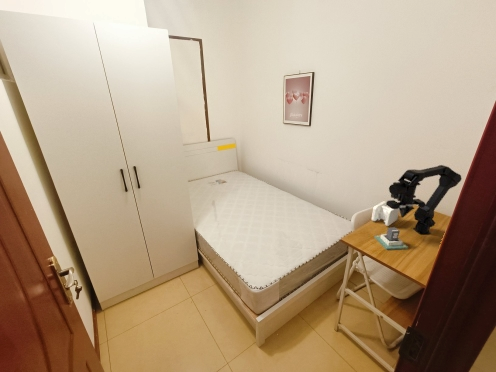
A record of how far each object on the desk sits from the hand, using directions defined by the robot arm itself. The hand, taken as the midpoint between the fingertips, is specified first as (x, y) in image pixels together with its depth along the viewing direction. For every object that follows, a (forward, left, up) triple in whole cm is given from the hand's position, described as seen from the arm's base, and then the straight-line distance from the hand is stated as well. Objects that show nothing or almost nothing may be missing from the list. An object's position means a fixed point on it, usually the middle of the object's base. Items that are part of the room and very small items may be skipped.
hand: (402, 216), depth 128 cm
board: (+9, +7, -12) cm, 17 cm away
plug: (+9, +7, -12) cm, 16 cm away
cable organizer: (-1, -16, -13) cm, 21 cm away
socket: (+9, +7, -12) cm, 17 cm away
